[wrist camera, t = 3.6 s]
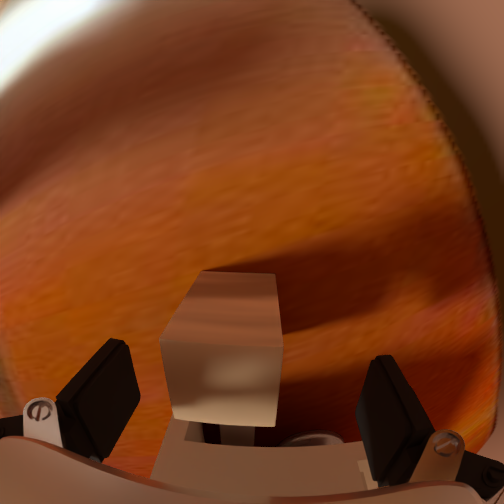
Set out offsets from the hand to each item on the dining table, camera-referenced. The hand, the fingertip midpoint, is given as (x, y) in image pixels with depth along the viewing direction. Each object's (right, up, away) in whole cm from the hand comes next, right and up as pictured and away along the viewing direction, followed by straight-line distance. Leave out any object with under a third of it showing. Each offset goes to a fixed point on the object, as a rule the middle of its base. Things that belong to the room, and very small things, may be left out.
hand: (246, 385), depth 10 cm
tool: (-1, -6, +8) cm, 10 cm away
